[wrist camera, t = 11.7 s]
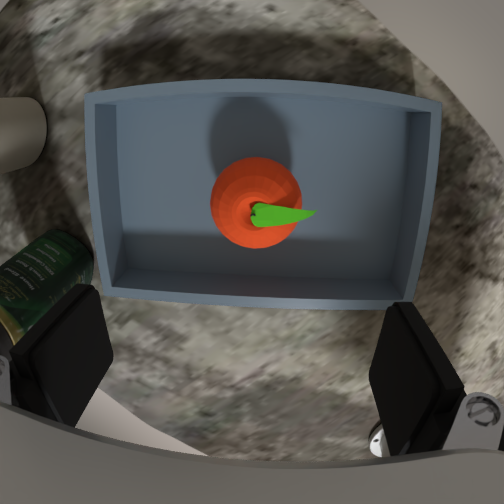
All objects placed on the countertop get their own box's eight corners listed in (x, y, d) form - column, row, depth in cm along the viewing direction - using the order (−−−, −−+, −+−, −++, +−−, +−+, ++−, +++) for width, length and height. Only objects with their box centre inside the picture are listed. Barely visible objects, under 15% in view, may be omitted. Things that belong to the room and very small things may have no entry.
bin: (416, 104, 24) (442, 102, 20) (393, 284, 31) (410, 309, 26) (112, 96, 26) (84, 93, 21) (124, 272, 32) (104, 295, 28)
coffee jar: (49, 216, 31) (-75, 294, 13) (104, 252, 32) (-9, 361, 15) (35, 280, 34) (-60, 368, 17) (83, 314, 35) (-1, 422, 18)
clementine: (313, 156, 26) (327, 166, 19) (307, 234, 29) (317, 268, 22) (218, 151, 26) (200, 161, 20) (217, 229, 29) (201, 262, 22)
